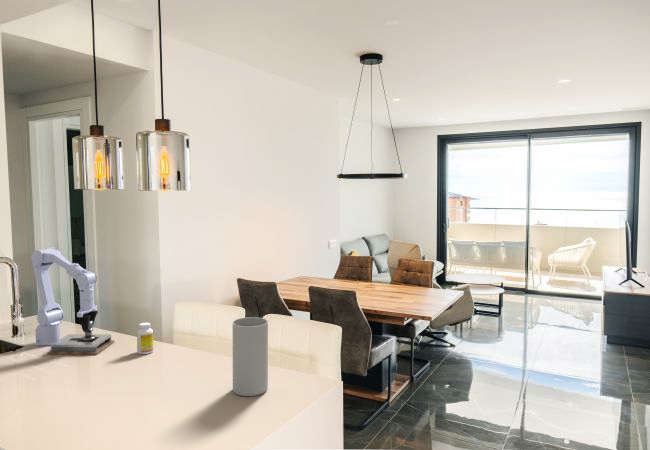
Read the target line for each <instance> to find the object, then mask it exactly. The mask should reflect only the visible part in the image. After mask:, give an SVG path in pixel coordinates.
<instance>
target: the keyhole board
mask: <svg viewBox="0 0 650 450" xmlns="http://www.w3.org/2000/svg"><path fill="white" fill-rule="evenodd" d="M114 343H115V340H113V339H111V341H110V342H103V343H101V344H100V345H98V351H97V352H51V350H49V351H48V352H47V353H46V354H47V355H48V356H50V355H53V356H55V355H57V356H58V355H60V356H61V355H62V356H68V355H69V356H72V355H73V356H76V355H77V356H87V355H88V356H98V355H99V354H100V353H102V352H103V351H105V350H106V349H107V348H109V347H110V346H111V345H113V344H114Z"/></svg>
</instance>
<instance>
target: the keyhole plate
mask: <svg viewBox="0 0 650 450" xmlns="http://www.w3.org/2000/svg"><path fill="white" fill-rule="evenodd" d="M92 335H95V337H96V338H95V339H93V340H90V341H82V337H83V336H85V333H83V334H81V333H80V334H75V333H74V334H73V333H69V334H67V335H65V336H63V337H62V338H60V340H58V341H56V342H55V343H53V344H51V345H50V351H51V352H97V351H98V345H100V344H101V343H103V342H110V341H111V340H112V334H106V333H105V334H101V333H99V334H93V333H92Z"/></svg>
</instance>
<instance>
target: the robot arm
mask: <svg viewBox="0 0 650 450" xmlns="http://www.w3.org/2000/svg"><path fill="white" fill-rule="evenodd" d="M30 258H31V264H32V269H33V274H34V278H35V280H36V281H35V282H36V285H37V289H38V295H39V299H40V300H39V301H40V304H41V305H40V307H39V308H38V309H37V310H36V313H37V316H36V321H37V323H38V324H37V326H36V328H35V344H34V346H51V344H53V343H55V342H56V341H58V340H60V339H61V323H62V320H63V319H64V317H65V313H64V311H63V309H62V307H61V305H60V304H59V303H57V302H55V297H54V291H53V287H52V284H51V279H50V274H49V268H50V267H52V266H53V265H54V264H56V265H57V266H59V267H60V268H63V269H64V270H65V271H66V275H69V276H70V277H71V278H73V279H74V280H75V282H76V284H77V286H78V287H77V288H78V290H79V306H80V307H79V308H80V309H79V310H78V312H76V318H77V320H78V321H79V323H80V326H81V329H82V331H83V330H88V328H89V321H90V320H92V321H93V326H94V324H95V320H96V317H97V315H98V313H99V310H98V304H95V284H96V283H97V282H98V281H97V274H96V273H95V272H94V271H89V270H87V269H86V268H83V267H82V266H81V265H80V264H79V263H77V262H76V263H75V262H73V263H71V262H70V261H69V260H68V259H67V258H66V257H64V255H62V254H61V251H60V250H58V249H57V248H55V247H52V248H45V249H44V248H43V249H36V250H34V251H33V252H32V254H31V256H30Z"/></svg>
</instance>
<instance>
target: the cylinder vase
mask: <svg viewBox="0 0 650 450" xmlns="http://www.w3.org/2000/svg"><path fill="white" fill-rule="evenodd" d="M268 365H269V320H267V319H266V318H262V317H257V316H250V317H248V316H247V317H242V318H241V317H240V318H237V319H234V320H233V321H232V391H233V393H234V394H235V395H238V396H240V397H247V396H249V397H257V396H259V395H262V394H264V393H266V391H267V390H268V386H269V366H268Z"/></svg>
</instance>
